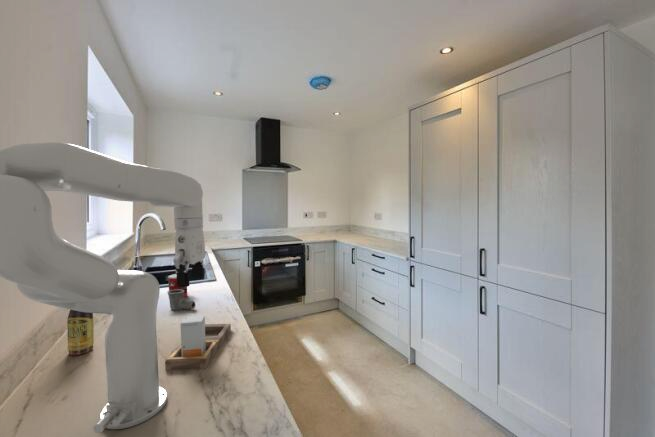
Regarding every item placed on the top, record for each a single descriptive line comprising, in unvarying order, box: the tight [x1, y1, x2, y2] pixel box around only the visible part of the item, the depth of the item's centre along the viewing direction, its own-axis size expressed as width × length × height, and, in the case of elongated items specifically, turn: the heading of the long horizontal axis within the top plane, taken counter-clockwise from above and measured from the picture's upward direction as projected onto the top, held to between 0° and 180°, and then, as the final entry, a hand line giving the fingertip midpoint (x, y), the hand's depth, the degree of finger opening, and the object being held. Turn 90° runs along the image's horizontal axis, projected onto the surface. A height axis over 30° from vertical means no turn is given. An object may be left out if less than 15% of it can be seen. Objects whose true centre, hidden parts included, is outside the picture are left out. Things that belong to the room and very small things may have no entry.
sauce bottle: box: [66, 309, 95, 356], centre depth 90 cm, size 6×6×20 cm
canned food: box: [167, 273, 188, 298], centre depth 142 cm, size 8×8×11 cm
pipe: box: [166, 289, 196, 311], centre depth 126 cm, size 6×13×8 cm, turn 76°
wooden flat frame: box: [164, 323, 232, 371], centre depth 92 cm, size 24×11×3 cm, turn 2°
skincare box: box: [180, 315, 206, 357], centre depth 86 cm, size 6×4×12 cm
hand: (191, 281), depth 85 cm, fingers open, 9 cm apart
